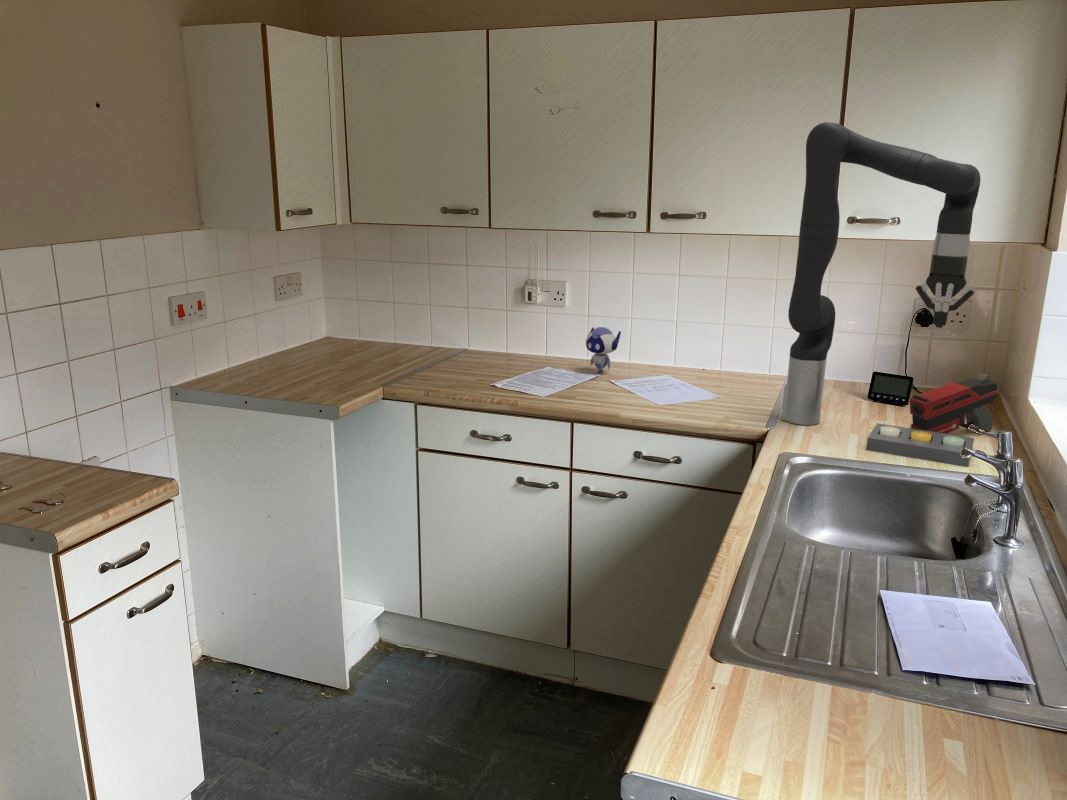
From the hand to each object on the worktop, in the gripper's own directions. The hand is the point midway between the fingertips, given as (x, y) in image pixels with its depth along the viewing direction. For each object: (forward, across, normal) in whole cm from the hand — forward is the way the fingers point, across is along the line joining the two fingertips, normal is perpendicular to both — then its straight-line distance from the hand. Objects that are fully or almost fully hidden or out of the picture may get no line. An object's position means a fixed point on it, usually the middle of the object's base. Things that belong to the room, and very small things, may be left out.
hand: (939, 327), depth 201 cm
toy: (+29, -98, +21) cm, 104 cm away
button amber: (+28, 0, -6) cm, 29 cm away
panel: (+29, 0, -6) cm, 30 cm away
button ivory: (+28, -7, -6) cm, 30 cm away
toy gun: (+29, +5, +12) cm, 32 cm away
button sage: (+28, +7, -6) cm, 30 cm away
